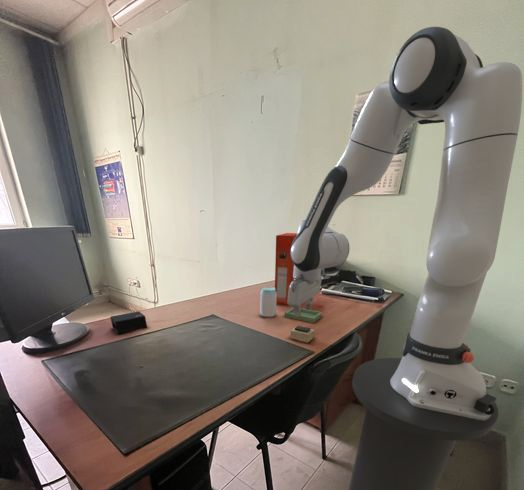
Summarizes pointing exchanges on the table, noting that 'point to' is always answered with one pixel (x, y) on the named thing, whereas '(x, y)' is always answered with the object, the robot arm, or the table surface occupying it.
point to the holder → (304, 315)
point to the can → (268, 302)
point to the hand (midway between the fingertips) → (302, 312)
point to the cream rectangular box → (302, 334)
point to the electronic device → (128, 322)
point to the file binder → (283, 267)
